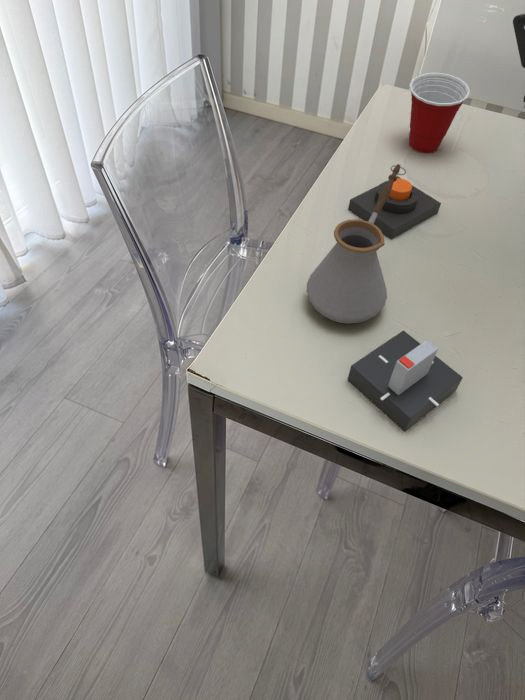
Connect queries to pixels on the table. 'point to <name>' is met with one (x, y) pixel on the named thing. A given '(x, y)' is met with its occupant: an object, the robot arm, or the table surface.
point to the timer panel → (415, 400)
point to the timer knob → (412, 367)
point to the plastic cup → (434, 108)
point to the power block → (395, 210)
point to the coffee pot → (352, 269)
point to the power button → (400, 190)
